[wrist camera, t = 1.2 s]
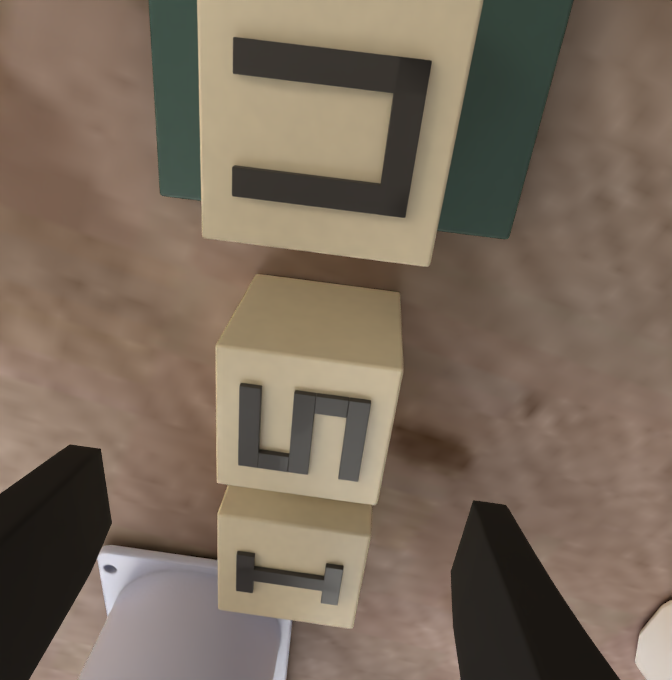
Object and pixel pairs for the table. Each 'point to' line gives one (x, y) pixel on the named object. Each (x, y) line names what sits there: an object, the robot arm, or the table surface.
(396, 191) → the U block
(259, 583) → the block
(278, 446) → the block
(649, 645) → the inkwell
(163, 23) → the green board
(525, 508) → the table surface
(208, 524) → the table surface
